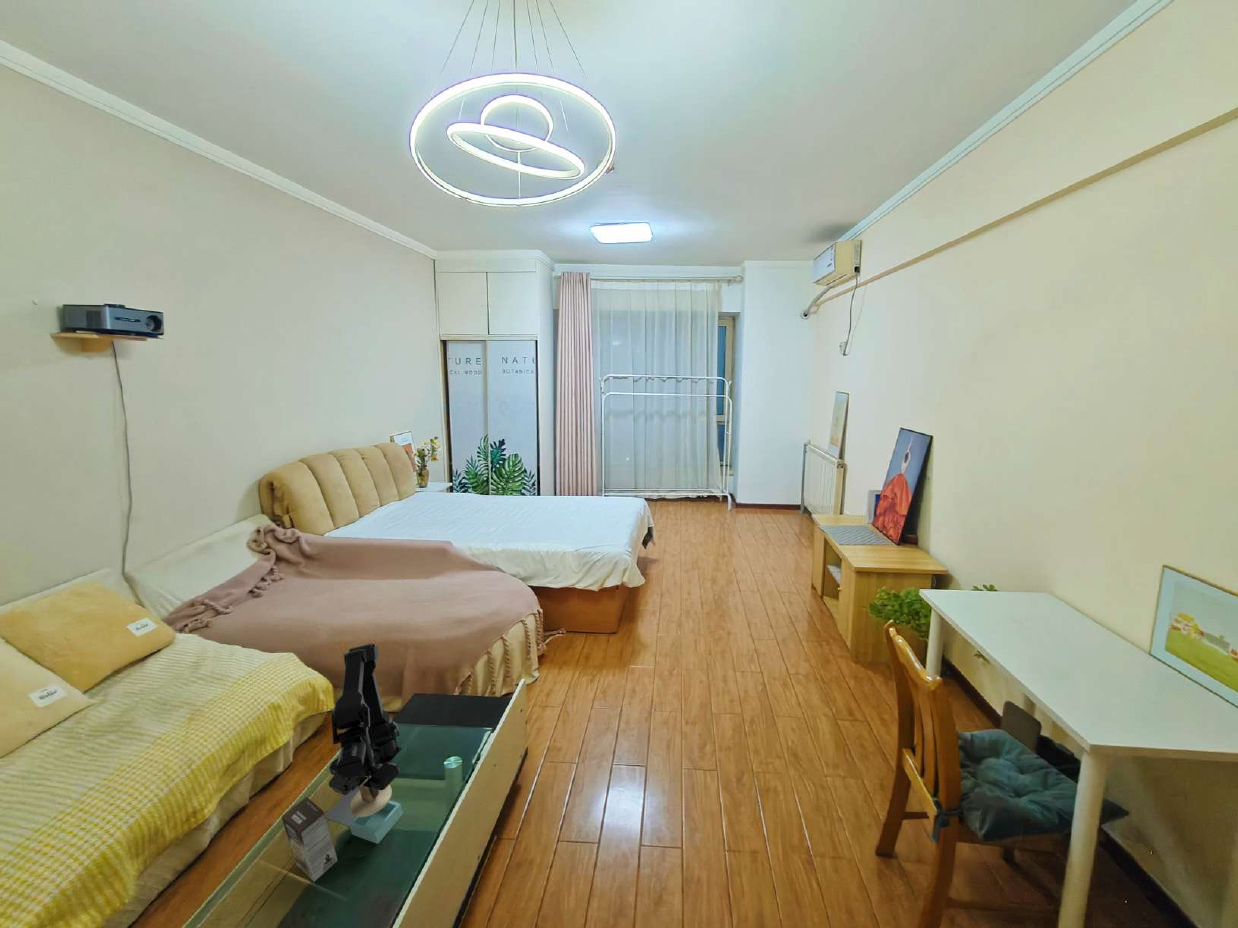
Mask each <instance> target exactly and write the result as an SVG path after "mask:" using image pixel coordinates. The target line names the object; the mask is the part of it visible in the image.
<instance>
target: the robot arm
mask: <svg viewBox="0 0 1238 928" xmlns="http://www.w3.org/2000/svg"><path fill="white" fill-rule="evenodd" d="M379 653H380V652H379V649H378V646H377V645H375V643H374V644H373V643H368V644H363V645H360V646H355V647H351V648H349V650H348V652H346V653H343V655H342V656H343V663H344V667H345V668H344V677H343V686H342V687H343V688H342V693H341V694H342V695H340V697H339V698H338V699H337V700H336V701H335V705H334V710H333V712H332V713H331V727H332V728H331V731H332V744H333V745H337V744H340V751H339V755H338V756H337V757H336V758H335V759H333V760H332V762H331V763H330V766H329V768H328V769H329V772H330V775H332V777H331V779H330V780H329V782H328V787H329V788H331V789H332V791H334V793H338V794H341V795H343V796H345V795H347V794H348V793H349V792H350V791H354V790H355V789H356V787H358V788H359V786H360V785H361V784H362V783H363V782H364V781H365V780H366V779H367V778H368V780H367V781H366V782H365V783H364V784H363V786H365V787H368V788H369V790H370V792H371V794H372V796H373V798H375V797H376V796H377V795H378V792H379V790H381V791H382V790H384V789H385V788H386V787H387V786H388V785H389V784H390V785H391V783H392V782H393V781H394V780H395V779H396V778H397V777H398V775H399V774H400V768H399V764H398V765H397V764H395V763H391V761H392V759H394V757H396V755H398V753H399V752H401V751H402V747H400V746H398V742H397V739H398V737H399V736H400V729H399V726H398V723H397V722H396V721H393V719H392V717H391V716H392V715H391V714H390V713H388V711H386V710H384V706H383V703H382V699H381V694H380V690H379V686H378V685H379V684H378V680H377V675H376V672H375V670H376V667H377V663H378V659H379ZM342 730H343V732H339V733H338V731H342ZM376 763H377V764H376Z"/></svg>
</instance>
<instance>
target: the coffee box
mask: <svg viewBox="0 0 1238 928" xmlns="http://www.w3.org/2000/svg"><path fill="white" fill-rule="evenodd" d="M325 815H326V813H325V811H324V810H323V809H322V808H320V807H319V806H318V805H317V804H316V803H315V802H313V801H312V800H311V799H310V798H309V797H307V796H305V797H304V798H303V799H302V800H300V801H299V802H298V803H297V804H295V805H294V806H292V807H291V808H290V809H289V810H288V811H286V812H285V813H284V814H283V815H282V816H281V820H282V824H283V827H284V830H285V834H286V836H287V839H288V842H289V846H290V849H291V852H292V855H293V858H294V862H295V864H296V866H297V867H298V868H299V869H300V870H301V871H302V872H303V873H304V874H305V875H306V876H307V877H308V878H309V879H310V880H311V881H312V882H316V881H317V880H318V879H319V878H320V877H322V875H323V874H325V873H326V872H327V871H328V870H329V869H330V868H332V867H333V866H334V864H335V863H337V862H338V857H337V853H336V849H335V846H334V842H333V839H332V835H331V831H330V828H329V824H328V819H327V818H326V816H325Z"/></svg>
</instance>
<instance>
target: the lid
mask: <svg viewBox="0 0 1238 928" xmlns="http://www.w3.org/2000/svg"><path fill="white" fill-rule="evenodd" d="M367 780H368V778H367V779H366V780H365V781H364V782H363V783H362V784H361V785H360V786H359V789H360V790H359V791H358V792H357V793H356V794H355V796H354V797H353V799H352V801H351V804H350V807H351V811H352V813H353V815H355V816H357V817H367V816H370V815H373V814H375V813H377V812H378V811H380V810H381V809H382V808H383V807H385V805H386V804H387V803H388V802H389V800H390V801H391V798H392V795H393V790H392V786H391V783H390V784H389V785H388V786H387V787H386V788H385V789H384V790H382V791H381V790H379V792H378V795H377V796H376V797H375V798H373V796H372V794H371V792H370V790H369V788H368V787H365V786H363V784H364V783H365V782H366V781H367Z"/></svg>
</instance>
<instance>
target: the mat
mask: <svg viewBox="0 0 1238 928" xmlns="http://www.w3.org/2000/svg"><path fill="white" fill-rule="evenodd" d="M359 790H360V789H359V788H358V787H356V789H355V790H354V791H350V792H349V793H348V794H347V795H343V797H342V798H341V799H339V801H338V802H337V803H336V804H335V805H334V806H333V807H332V808H331V809H330V810H329V811H328V812H327V813H325V816H326V820H330V821H333V822H335V823H338V824H341V825H344V826H346V827H349V828H350V825H349V824H350V823H351V822H352V821H353V820H354V819H355V818H356V817H357V816H355V815H353V813H352V811H351V807H350V804H351V801H352V799H353V797H354V796H355V794H356V793H357V792H358V791H359Z"/></svg>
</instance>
